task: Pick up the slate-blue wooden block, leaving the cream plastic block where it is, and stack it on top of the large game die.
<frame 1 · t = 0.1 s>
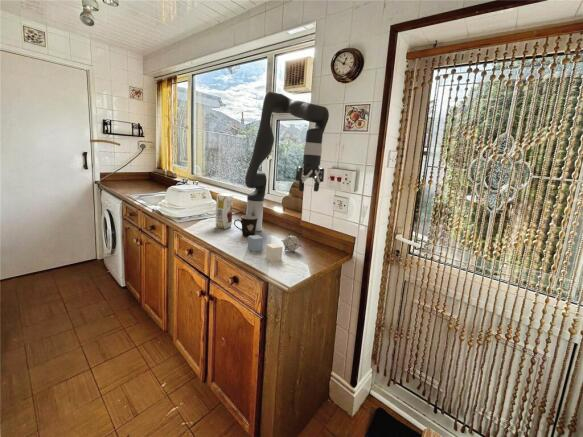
hand: (308, 191, 132), 29 cm above the counter, tool pointing down, fingers open, 8 cm apart
coffee mug: (245, 235, 160), on the counter
game die: (290, 251, 140), on the counter
slate block: (254, 249, 139), on the counter
juice carton: (223, 227, 172), on the counter
cream block: (273, 258, 128), on the counter
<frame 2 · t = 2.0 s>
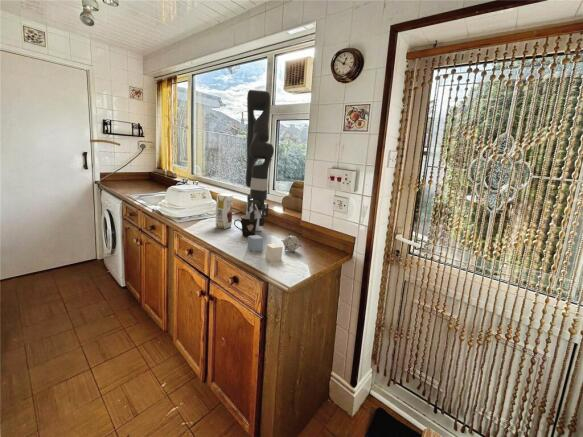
hand: (256, 223, 136), 12 cm above the counter, tool pointing down, fingers open, 8 cm apart
nothing on the counter moved.
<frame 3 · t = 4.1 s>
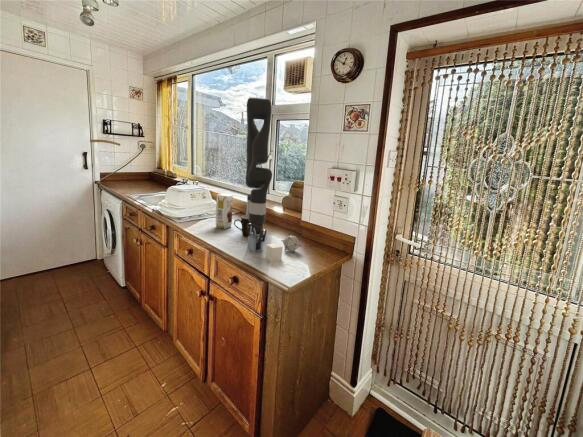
hand: (255, 247, 138), 1 cm above the counter, tool pointing down, fingers closed on slate block, 5 cm apart
slate block: (254, 249, 139), on the counter, touching gripper
everything else where it was.
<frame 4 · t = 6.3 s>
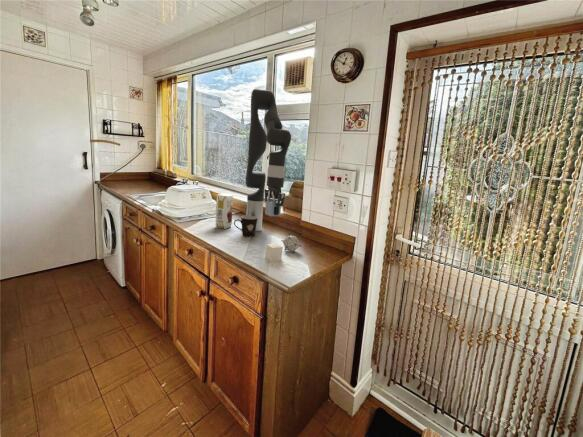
hand: (272, 213, 135), 18 cm above the counter, tool pointing down, fingers closed on slate block, 5 cm apart
slate block: (272, 214, 135), point 17 cm above the counter, touching gripper
everything else where it was.
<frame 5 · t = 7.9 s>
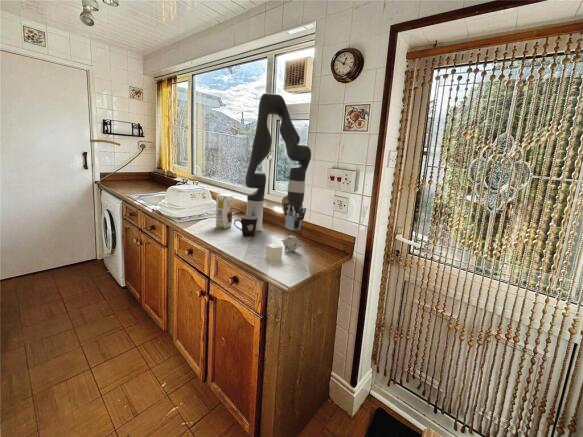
hand: (292, 227, 138), 12 cm above the counter, tool pointing down, fingers closed on slate block, 5 cm apart
slate block: (292, 228, 138), point 11 cm above the counter, touching gripper
everything else where it was.
when the fingers open (10 cm above the counter, at t = 9.0 s): slate block drops 2 cm, resting on game die.
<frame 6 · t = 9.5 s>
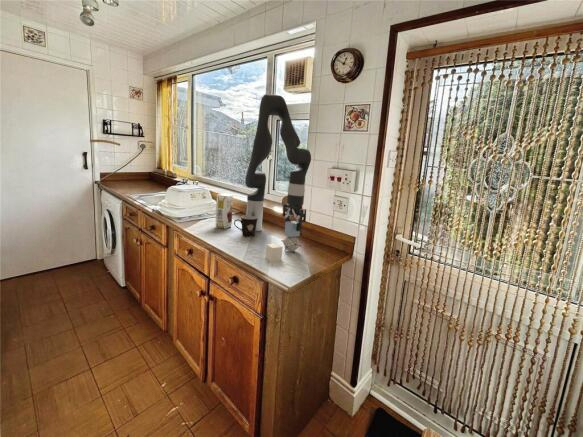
hand: (292, 228, 138), 11 cm above the counter, tool pointing down, fingers open, 8 cm apart
game die: (290, 251, 140), on the counter, touching slate block
slate block: (291, 235, 139), point 8 cm above the counter, touching game die
everything else where it was.
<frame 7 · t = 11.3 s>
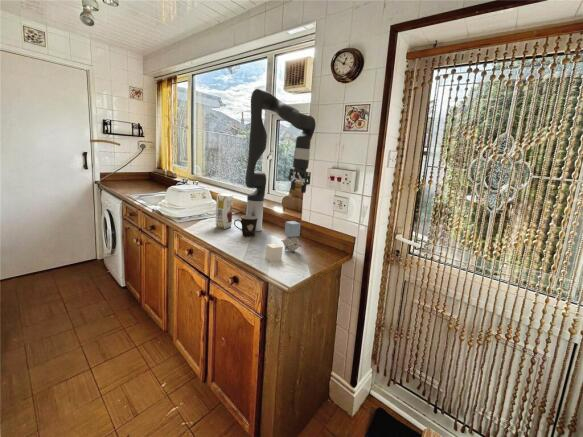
hand: (297, 191, 148), 27 cm above the counter, tool pointing down, fingers open, 8 cm apart
nothing on the counter moved.
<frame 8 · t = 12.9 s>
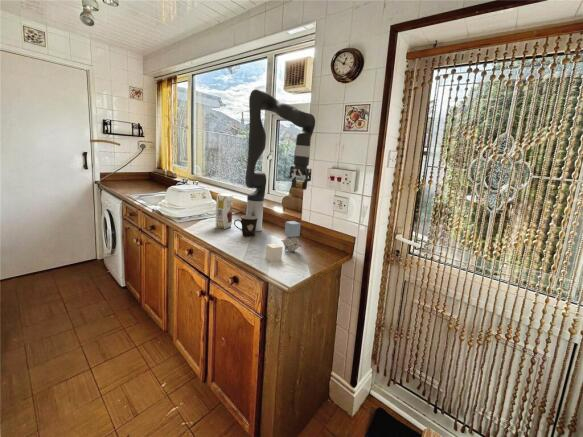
hand: (298, 188, 150), 28 cm above the counter, tool pointing down, fingers open, 8 cm apart
nothing on the counter moved.
at the end: slate block 0.1 cm off-centre on the game die, point 8.2 cm above the game die's base; slate block tilted 0°; cream block moved 0.1 cm from its start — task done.
